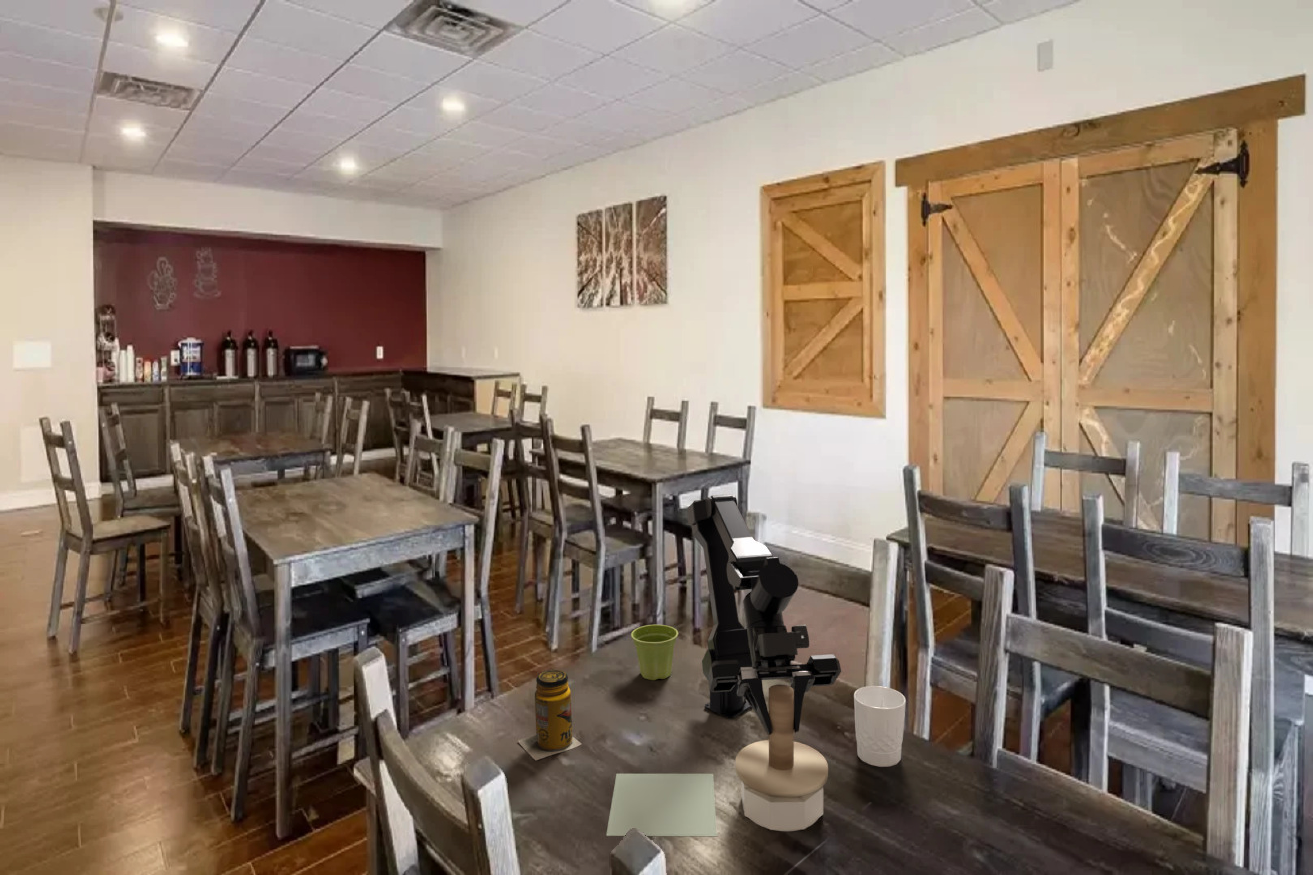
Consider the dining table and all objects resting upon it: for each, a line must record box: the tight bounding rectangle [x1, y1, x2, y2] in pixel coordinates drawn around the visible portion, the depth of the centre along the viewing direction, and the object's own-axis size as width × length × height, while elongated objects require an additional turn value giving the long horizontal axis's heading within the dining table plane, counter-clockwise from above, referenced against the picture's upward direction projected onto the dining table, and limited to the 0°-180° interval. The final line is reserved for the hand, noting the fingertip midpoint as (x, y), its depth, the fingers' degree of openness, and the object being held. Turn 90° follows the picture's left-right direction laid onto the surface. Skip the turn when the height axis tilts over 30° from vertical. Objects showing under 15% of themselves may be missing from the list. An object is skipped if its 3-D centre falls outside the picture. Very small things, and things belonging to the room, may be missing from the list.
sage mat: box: [605, 773, 717, 837], centre depth 112 cm, size 15×15×1 cm
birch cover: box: [734, 683, 829, 797], centre depth 109 cm, size 13×13×12 cm
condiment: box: [517, 669, 582, 761], centre depth 129 cm, size 7×8×12 cm
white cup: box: [853, 685, 907, 768], centre depth 123 cm, size 8×8×10 cm
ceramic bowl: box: [740, 780, 824, 832], centre depth 110 cm, size 11×11×4 cm
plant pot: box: [630, 624, 679, 681], centre depth 155 cm, size 9×9×9 cm
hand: (783, 733), depth 108 cm, fingers closed on birch cover, 3 cm apart
